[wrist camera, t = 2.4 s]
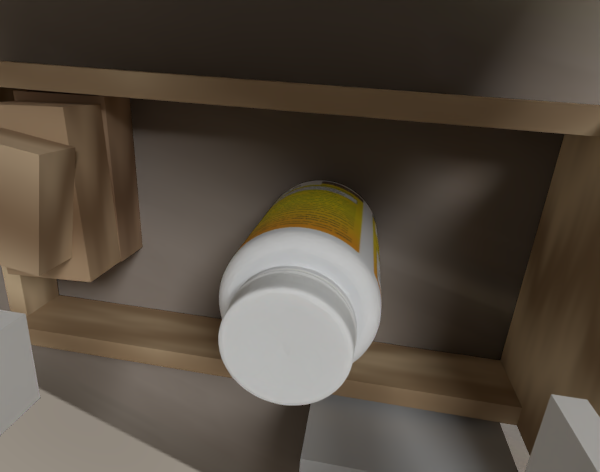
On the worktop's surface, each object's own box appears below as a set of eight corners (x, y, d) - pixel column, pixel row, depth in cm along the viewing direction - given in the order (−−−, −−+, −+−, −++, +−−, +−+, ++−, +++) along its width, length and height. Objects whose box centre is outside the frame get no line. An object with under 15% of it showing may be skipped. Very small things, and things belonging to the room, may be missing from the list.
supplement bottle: (248, 209, 22) (152, 308, 12) (344, 156, 20) (320, 223, 10) (302, 296, 23) (254, 449, 13) (397, 254, 21) (419, 394, 12)
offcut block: (2, 127, 17) (-43, 132, 15) (75, 147, 17) (38, 155, 15) (5, 238, 19) (-35, 254, 17) (71, 257, 19) (38, 276, 17)
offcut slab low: (51, 90, 21) (12, 90, 19) (133, 95, 21) (104, 96, 19) (72, 236, 24) (41, 252, 22) (145, 244, 24) (121, 262, 21)
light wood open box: (5, 61, 21) (-413, 35, 10) (603, 105, 17) (1015, 144, 6) (46, 307, 26) (-201, 477, 15) (519, 379, 22) (666, 673, 11)
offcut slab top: (16, 101, 19) (-33, 103, 17) (100, 104, 19) (62, 107, 16) (46, 254, 22) (8, 274, 20) (121, 260, 21) (90, 282, 19)
